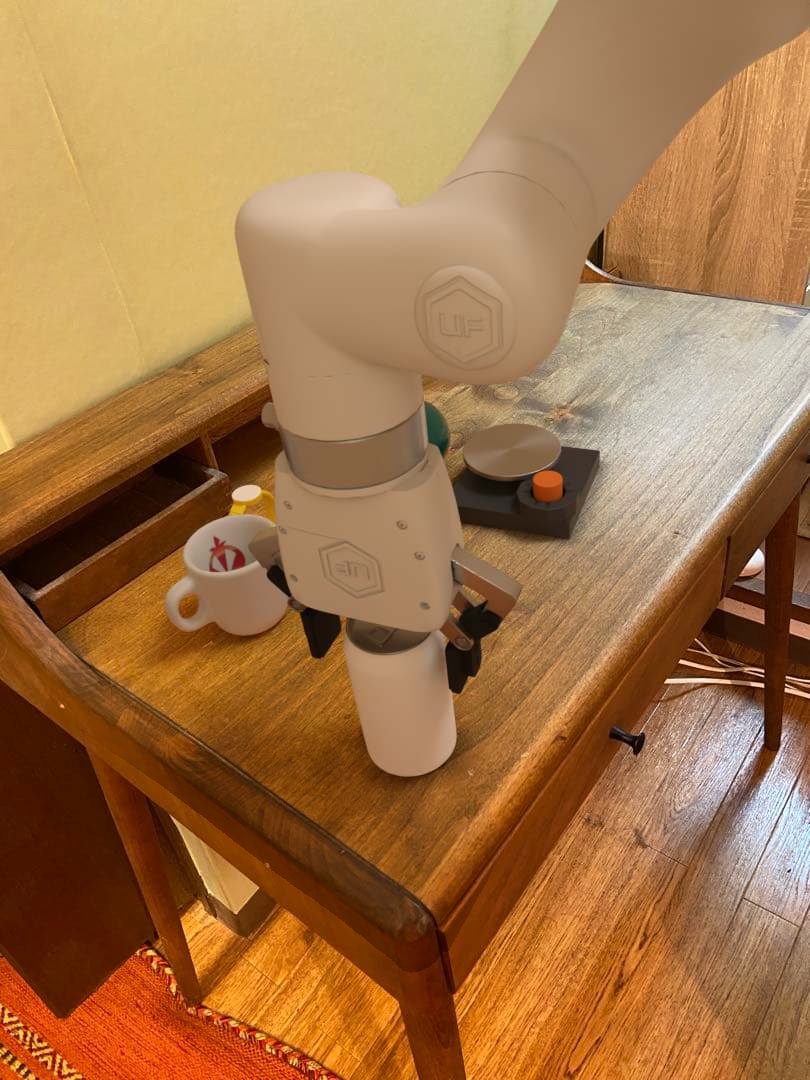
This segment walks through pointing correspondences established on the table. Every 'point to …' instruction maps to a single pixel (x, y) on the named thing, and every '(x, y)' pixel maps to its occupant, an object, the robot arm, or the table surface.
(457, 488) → the scale
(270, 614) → the cup
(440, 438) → the sphere
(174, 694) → the table surface
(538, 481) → the button
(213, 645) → the table surface
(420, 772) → the can
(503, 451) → the brushed metal disc
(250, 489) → the watch
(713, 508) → the table surface
